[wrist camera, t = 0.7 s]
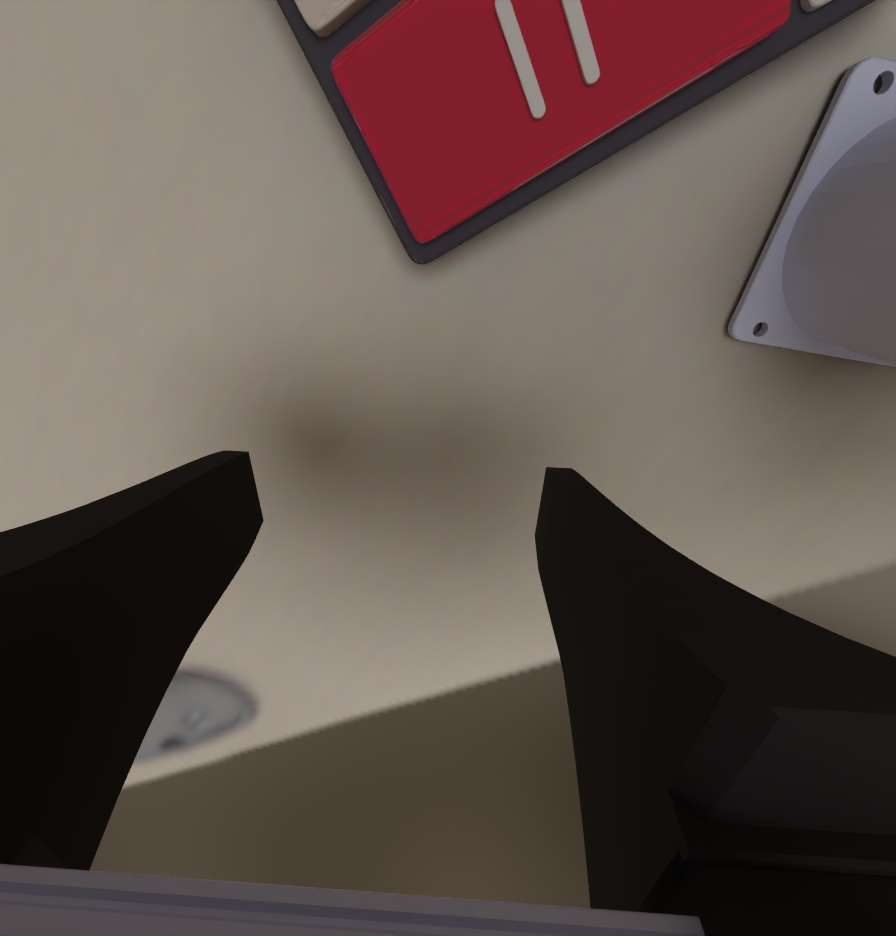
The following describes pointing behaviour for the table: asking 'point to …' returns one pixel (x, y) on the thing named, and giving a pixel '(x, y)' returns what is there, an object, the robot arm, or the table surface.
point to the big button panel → (522, 90)
